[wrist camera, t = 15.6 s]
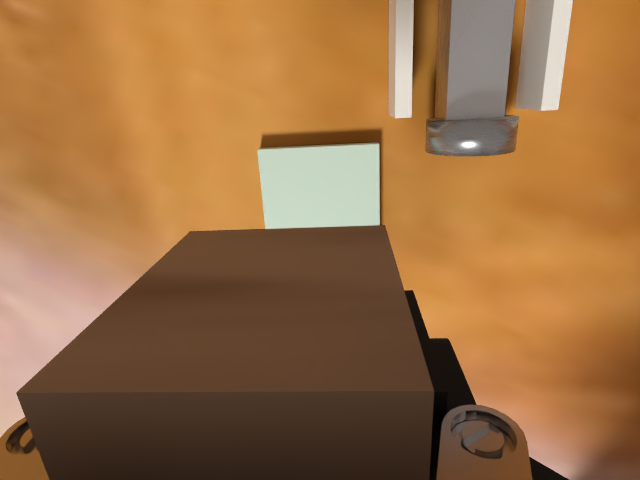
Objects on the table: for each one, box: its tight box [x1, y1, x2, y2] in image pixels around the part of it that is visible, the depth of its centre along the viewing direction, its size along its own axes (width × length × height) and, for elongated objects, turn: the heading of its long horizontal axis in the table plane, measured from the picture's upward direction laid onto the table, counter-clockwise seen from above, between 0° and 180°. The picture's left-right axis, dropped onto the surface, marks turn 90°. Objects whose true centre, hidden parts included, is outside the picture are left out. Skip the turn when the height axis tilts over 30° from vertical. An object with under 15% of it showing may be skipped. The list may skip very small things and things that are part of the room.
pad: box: [257, 142, 380, 229], centre depth 25 cm, size 7×7×1 cm
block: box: [17, 225, 434, 480], centre depth 8 cm, size 5×5×6 cm
